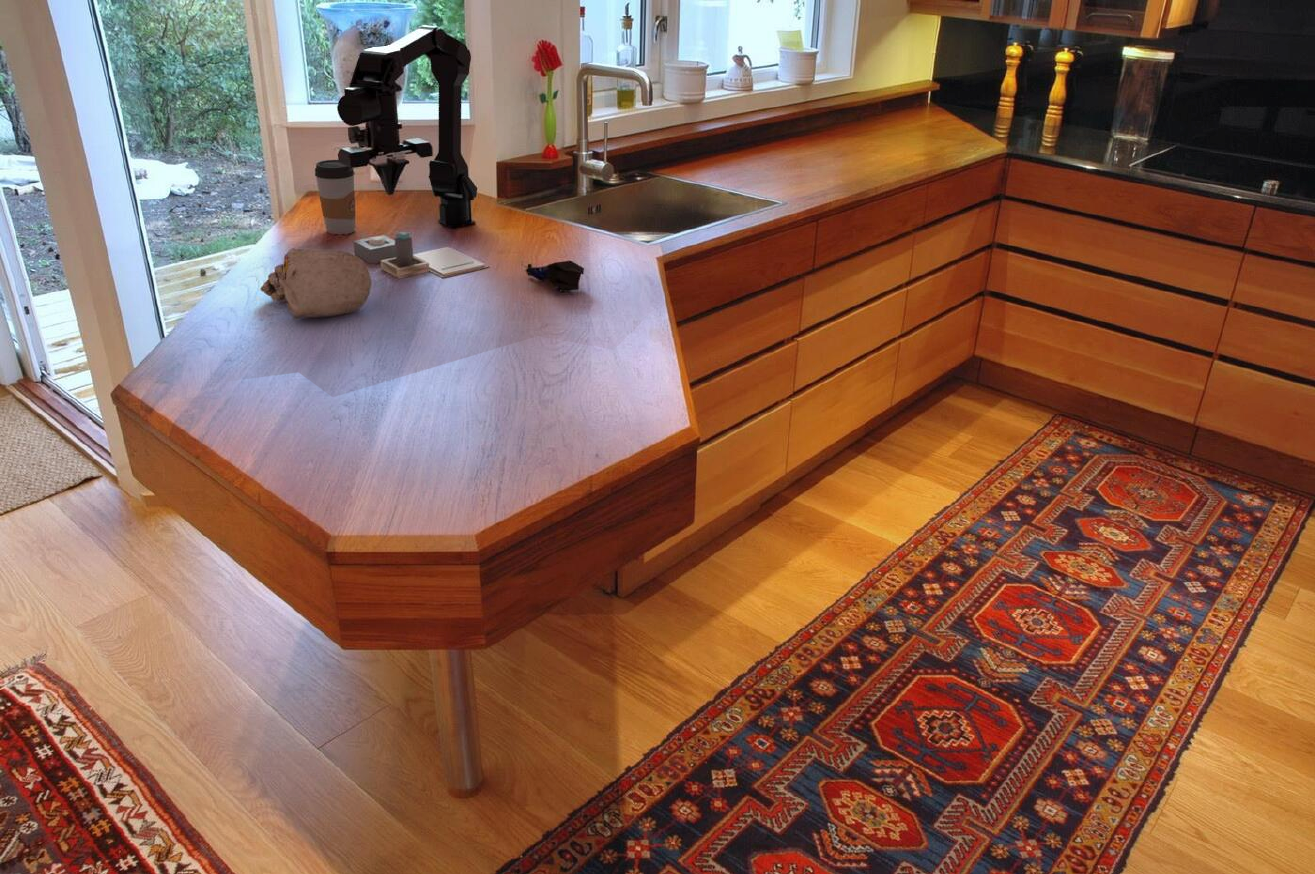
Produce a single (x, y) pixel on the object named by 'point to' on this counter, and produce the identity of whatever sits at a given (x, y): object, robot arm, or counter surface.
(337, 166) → the coffee cup
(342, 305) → the decorative skull
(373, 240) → the button
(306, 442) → the counter surface
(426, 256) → the white flat rectangular panel
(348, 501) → the counter surface
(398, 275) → the holder tray
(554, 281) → the toy
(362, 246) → the button housing
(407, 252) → the marker
